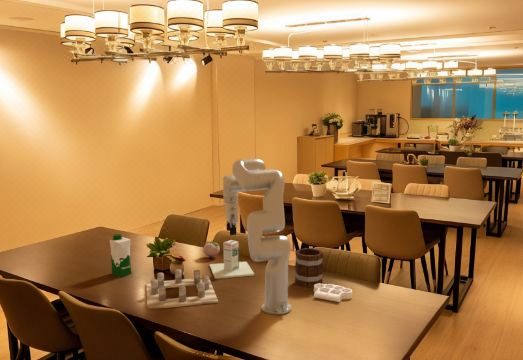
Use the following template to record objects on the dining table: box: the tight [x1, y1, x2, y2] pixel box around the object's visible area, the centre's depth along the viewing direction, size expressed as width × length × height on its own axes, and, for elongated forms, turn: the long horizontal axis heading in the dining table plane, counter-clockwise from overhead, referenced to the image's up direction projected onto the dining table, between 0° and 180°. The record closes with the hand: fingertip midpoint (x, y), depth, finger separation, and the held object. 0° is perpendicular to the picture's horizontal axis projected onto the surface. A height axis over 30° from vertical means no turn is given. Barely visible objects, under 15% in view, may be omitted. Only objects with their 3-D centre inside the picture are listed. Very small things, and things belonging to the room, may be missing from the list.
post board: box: [145, 268, 219, 310], centre depth 226 cm, size 30×30×7 cm
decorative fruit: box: [203, 240, 221, 259], centre depth 277 cm, size 9×8×10 cm
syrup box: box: [222, 239, 240, 271], centre depth 256 cm, size 6×6×14 cm
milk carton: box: [108, 233, 132, 278], centre depth 250 cm, size 9×9×20 cm
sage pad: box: [209, 261, 255, 280], centre depth 257 cm, size 20×20×1 cm
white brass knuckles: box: [313, 283, 353, 303], centre depth 224 cm, size 3×18×15 cm
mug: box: [294, 247, 324, 288], centre depth 243 cm, size 20×14×15 cm
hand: (231, 232), depth 253 cm, fingers open, 9 cm apart
